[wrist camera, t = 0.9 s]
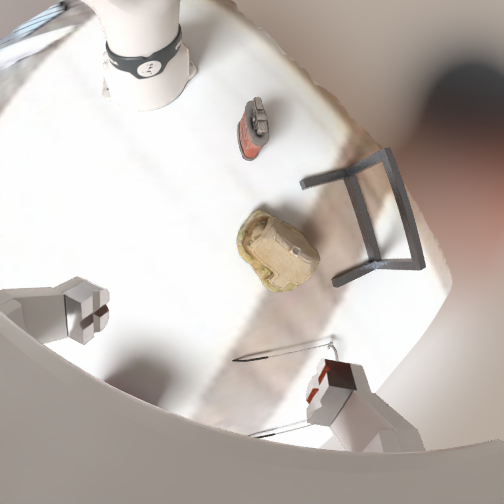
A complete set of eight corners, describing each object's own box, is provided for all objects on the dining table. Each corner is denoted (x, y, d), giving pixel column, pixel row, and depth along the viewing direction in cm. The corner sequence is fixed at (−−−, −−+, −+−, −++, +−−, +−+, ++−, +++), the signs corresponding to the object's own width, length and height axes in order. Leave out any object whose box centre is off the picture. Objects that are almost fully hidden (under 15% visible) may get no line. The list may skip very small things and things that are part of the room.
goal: (299, 182, 48) (337, 157, 35) (346, 170, 51) (389, 147, 37) (333, 286, 49) (380, 294, 36) (376, 266, 52) (425, 267, 38)
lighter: (259, 160, 47) (277, 137, 37) (240, 161, 46) (254, 137, 36) (252, 120, 47) (267, 92, 37) (234, 121, 46) (246, 92, 36)
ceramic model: (320, 250, 49) (350, 247, 39) (286, 302, 47) (311, 312, 38) (259, 201, 47) (278, 186, 37) (220, 254, 45) (229, 252, 35)
